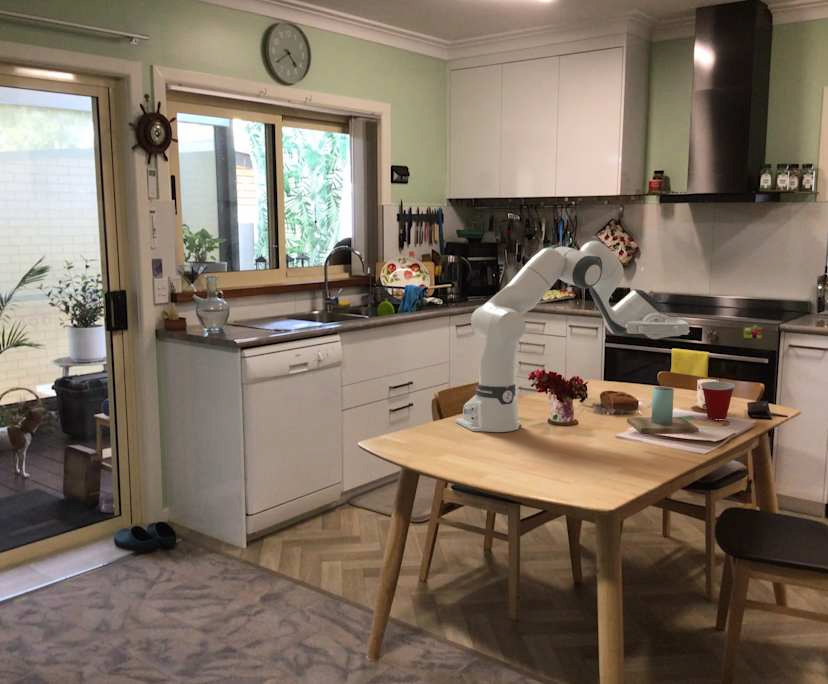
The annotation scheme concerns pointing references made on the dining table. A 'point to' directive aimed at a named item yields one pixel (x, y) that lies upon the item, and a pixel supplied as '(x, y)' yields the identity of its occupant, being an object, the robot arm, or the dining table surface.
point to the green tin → (662, 405)
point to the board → (648, 427)
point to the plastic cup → (717, 398)
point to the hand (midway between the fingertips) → (659, 330)
